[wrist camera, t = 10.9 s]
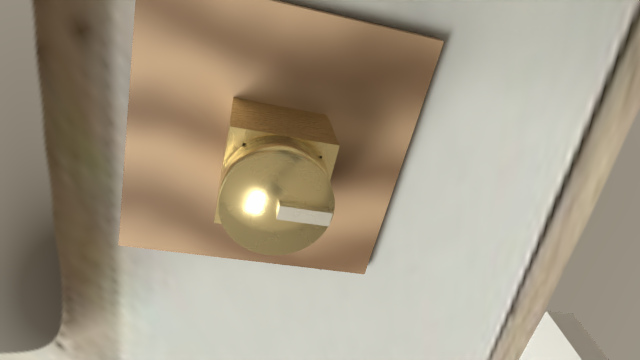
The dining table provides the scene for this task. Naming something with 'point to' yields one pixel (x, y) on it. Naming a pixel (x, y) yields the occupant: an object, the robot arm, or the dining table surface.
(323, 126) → the knob
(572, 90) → the dining table surface
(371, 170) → the plate
